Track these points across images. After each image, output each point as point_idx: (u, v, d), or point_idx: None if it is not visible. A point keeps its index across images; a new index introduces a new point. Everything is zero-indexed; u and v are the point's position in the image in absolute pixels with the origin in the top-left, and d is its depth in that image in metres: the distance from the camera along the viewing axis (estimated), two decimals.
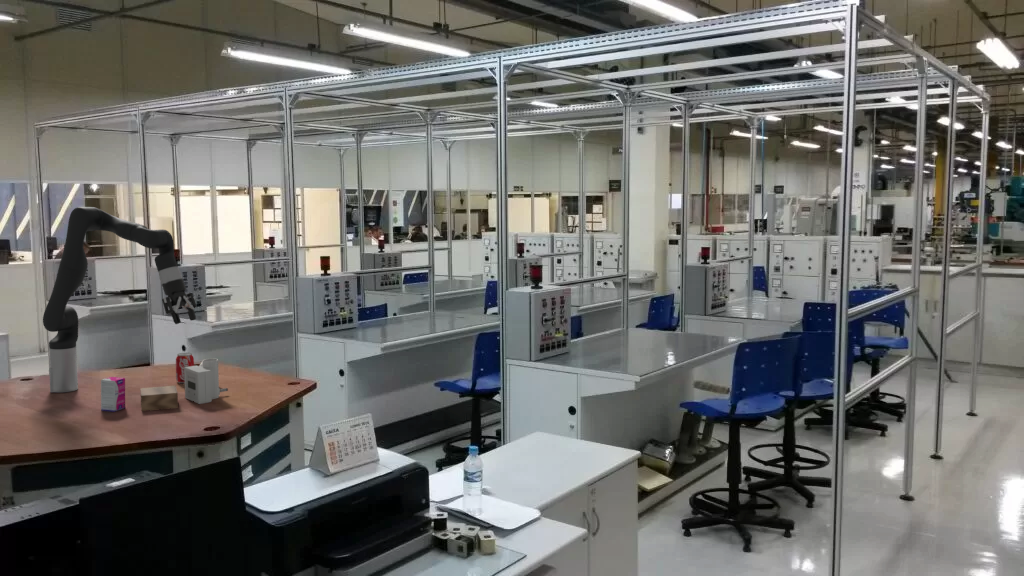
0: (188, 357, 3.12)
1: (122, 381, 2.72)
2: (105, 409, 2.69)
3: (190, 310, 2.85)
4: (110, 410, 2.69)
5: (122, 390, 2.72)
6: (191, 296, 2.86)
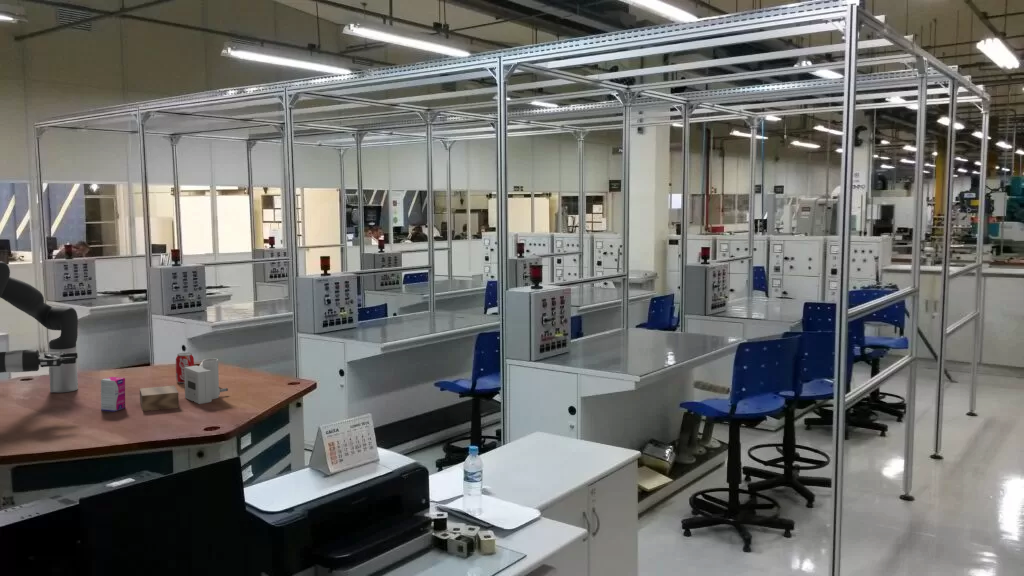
0: (188, 357, 3.12)
1: (122, 381, 2.72)
2: (105, 409, 2.69)
3: None
4: (110, 410, 2.69)
5: (122, 390, 2.72)
6: None
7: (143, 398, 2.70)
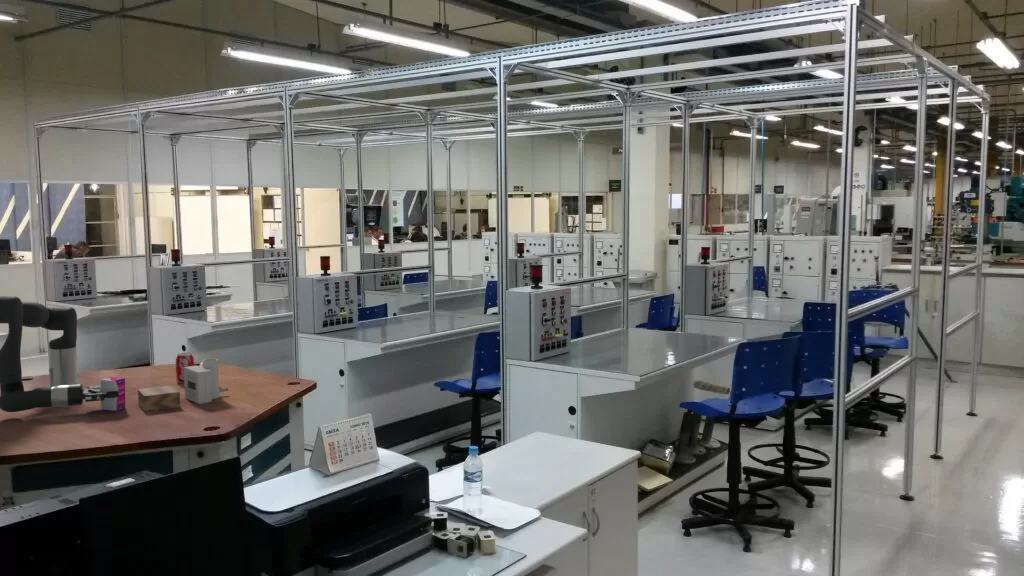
0: (188, 357, 3.12)
1: (122, 381, 2.71)
2: (105, 409, 2.69)
3: None
4: (110, 410, 2.69)
5: (122, 390, 2.72)
6: None
7: (145, 398, 2.70)
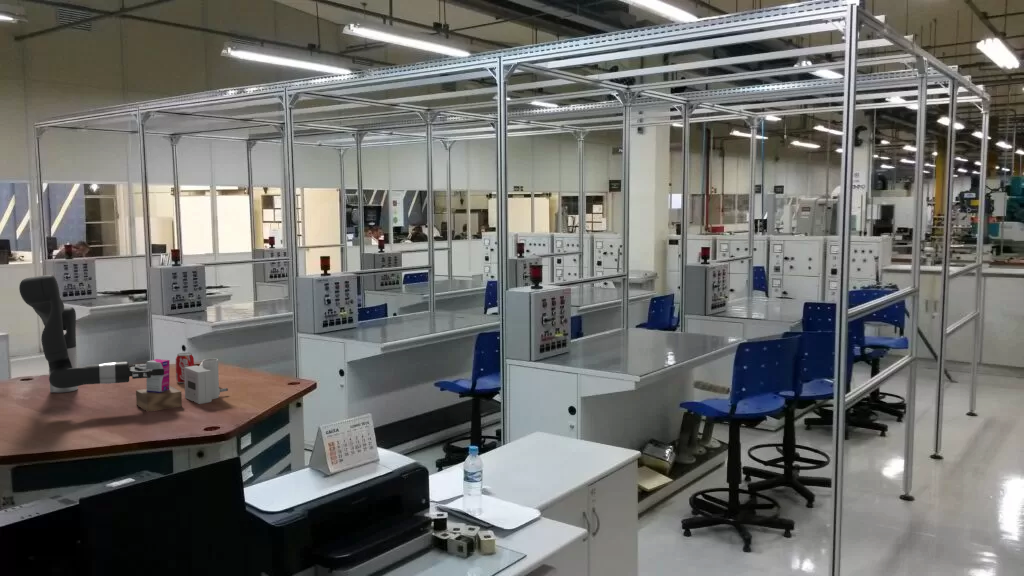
0: (188, 357, 3.12)
1: (167, 363, 2.77)
2: (150, 390, 2.75)
3: None
4: (155, 391, 2.75)
5: (167, 372, 2.78)
6: None
7: (148, 399, 2.70)
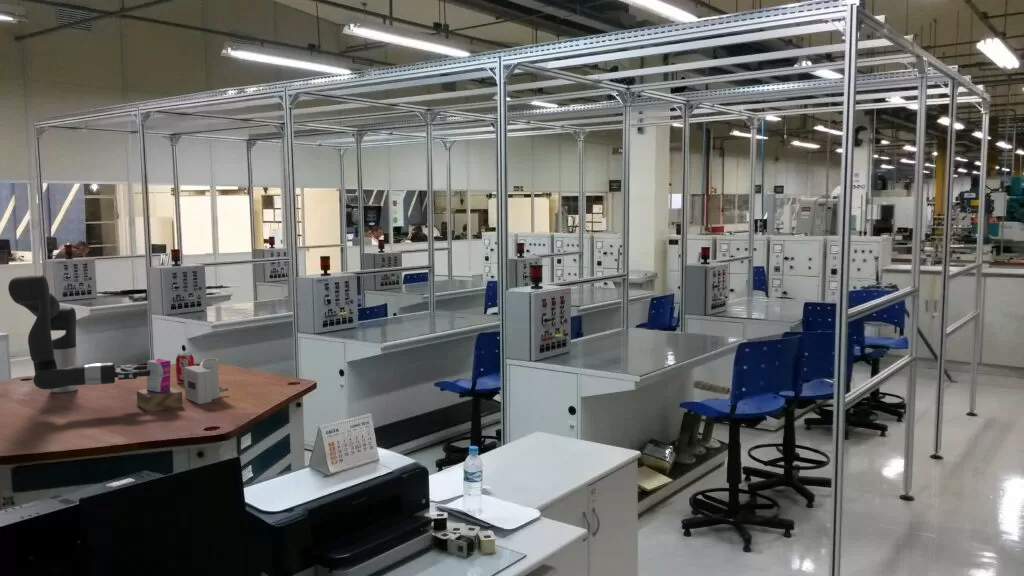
0: (188, 357, 3.12)
1: (167, 363, 2.77)
2: (150, 390, 2.75)
3: None
4: (154, 391, 2.74)
5: (167, 372, 2.77)
6: None
7: (149, 399, 2.70)
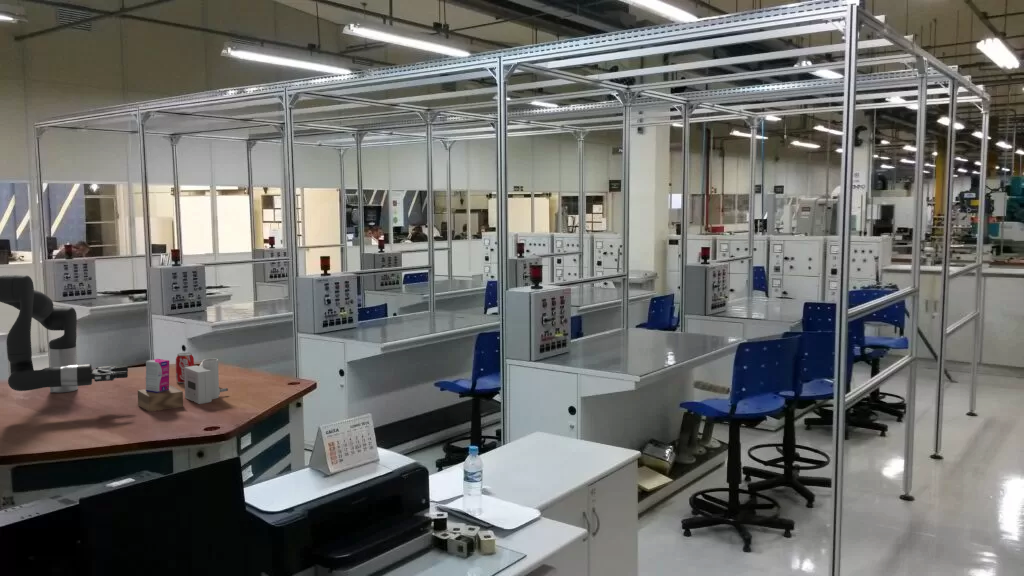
0: (188, 357, 3.12)
1: (166, 363, 2.77)
2: (149, 390, 2.75)
3: None
4: (153, 391, 2.74)
5: (166, 372, 2.77)
6: None
7: (149, 399, 2.70)
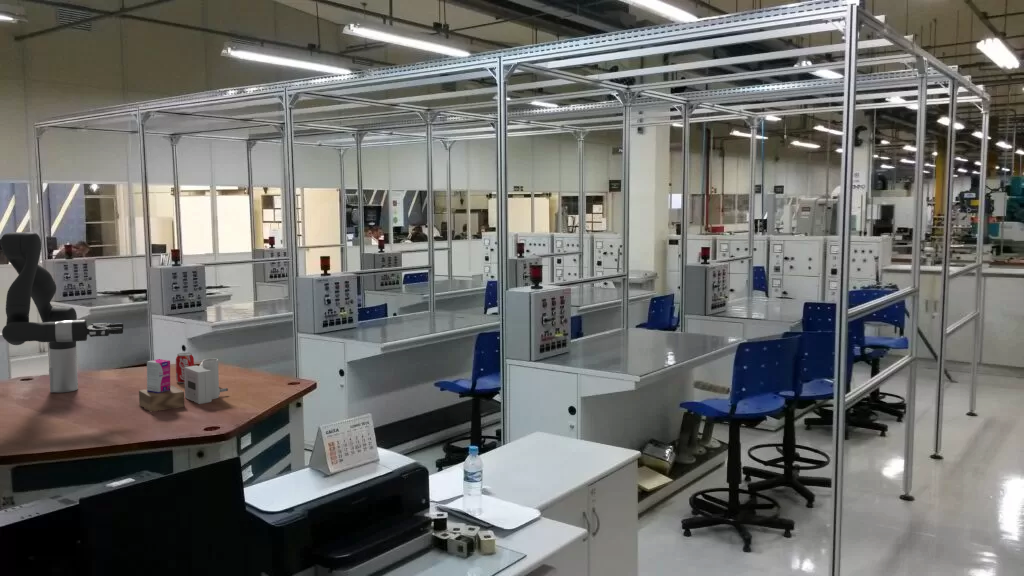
0: (188, 357, 3.12)
1: (167, 363, 2.77)
2: (150, 390, 2.75)
3: None
4: (155, 391, 2.74)
5: (167, 372, 2.77)
6: None
7: (151, 399, 2.70)
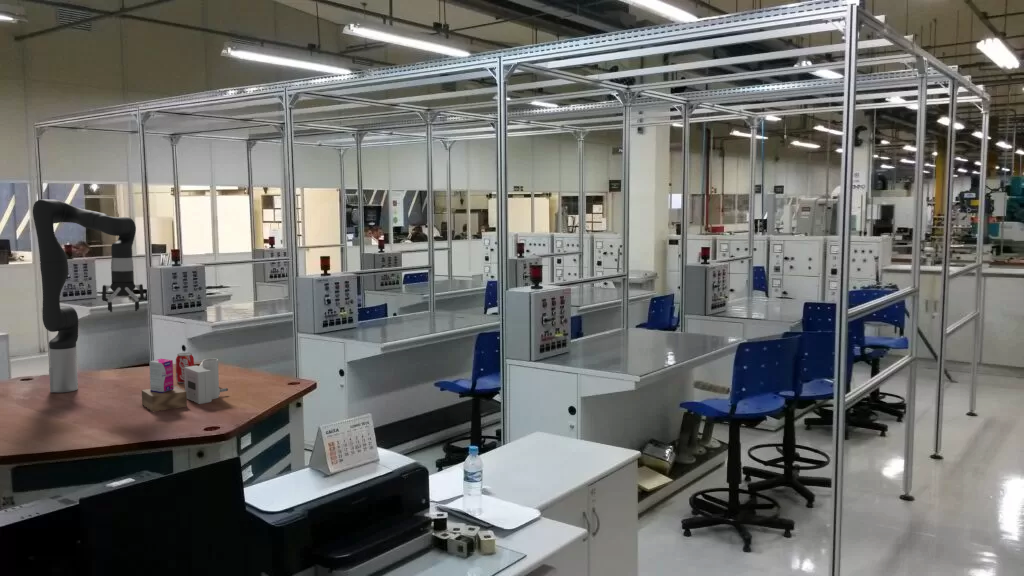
0: (188, 357, 3.12)
1: (169, 363, 2.77)
2: (154, 390, 2.75)
3: (135, 301, 2.89)
4: (158, 391, 2.75)
5: (170, 372, 2.77)
6: (140, 288, 2.89)
7: (153, 399, 2.70)
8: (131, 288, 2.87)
